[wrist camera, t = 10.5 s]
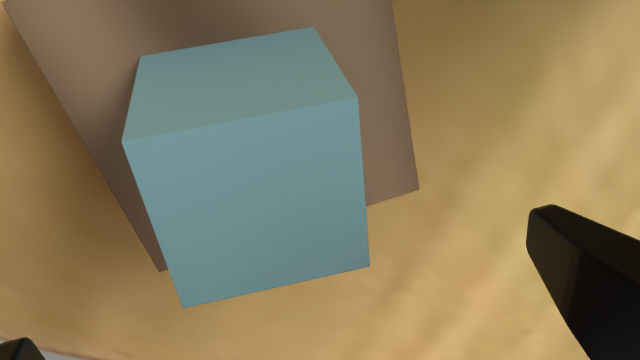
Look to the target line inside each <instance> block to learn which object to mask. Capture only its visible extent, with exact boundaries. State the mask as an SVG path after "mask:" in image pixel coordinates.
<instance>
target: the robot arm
mask: <svg viewBox="0 0 640 360" xmlns="http://www.w3.org/2000/svg"><path fill="white" fill-rule="evenodd" d="M526 247H527V251H528V254H529V256H530V258H531V260H532V261H533V263H534V265H535V267H536V269H537V271H538V273H539V275H540V276H541V278H542V280H543V282H544V284H545V286H546V288H547V289H548V291H549V293H550V295H551V297H552V299H553V301H554V303H555V304H556V306H557V308H558V310H559V312H560V314H561V315H562V317H563V319H564V321H565V322H566V324H567V326H568V327H569V329H570V330H571V332H572V333H573V335H574V336H575V338H576V339H577V341H578V342H579V344H580V345H581V347H582V348H583V350H584V351H585V352H586V354H587V355H588V357H589V358H590V360H640V240H637V239H635V238H633V237H630V236H628V235H626V234H623V233H621V232H618V231H616V230H614V229H611V228H609V227H607V226H604V225H602V224H600V223H597V222H595V221H593V220H590V219H588V218H585V217H583V216H581V215H578V214H576V213H574V212H571V211H569V210H567V209H564V208H562V207H559V206H557V205H553V204H551V205H546V206H542V207H538V208H534V209H532V210H531V211H530V213H529V218H528V228H527V237H526ZM0 360H45V358H44V357H43V356H42V354H41V353H40V351H39V350H38V348H37V347H36V346H35V344H34V343H33V342H32V340H31V339H29V338H27V337H25V338H24V337H23V338H19V339H15V340H11V341H7V342H4V343H2V344H0Z"/></svg>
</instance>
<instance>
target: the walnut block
mask: <svg viewBox="0 0 640 360" xmlns="http://www.w3.org/2000/svg"><path fill="white" fill-rule="evenodd" d="M2 5H3V7H4V8H5V10H6V12H7V13H8V15H9V17H10V18H11V20H12V22H13V24H14V25H15V27H16V29H17V30H18V32H19V34H20V36H21V37H22V39H23V41H24V42H25V44H26V46H27V47H28V49H29V51H30V53H31V54H32V56H33V58H34V59H35V61H36V63H37V64H38V66H39V68H40V70H41V71H42V73H43V75H44V76H45V78H46V80H47V82H48V83H49V85H50V87H51V88H52V90H53V92H54V93H55V95H56V97H57V99H58V100H59V102H60V104H61V105H62V107H63V109H64V111H65V112H66V114H67V116H68V117H69V119H70V121H71V122H72V124H73V126H74V128H75V129H76V131H77V133H78V134H79V136H80V138H81V139H82V141H83V143H84V145H85V146H86V148H87V150H88V151H89V153H90V155H91V157H92V158H93V160H94V162H95V163H96V165H97V167H98V168H99V170H100V172H101V174H102V175H103V177H104V179H105V180H106V182H107V184H108V186H109V187H110V189H111V191H112V192H113V194H114V196H115V197H116V199H117V201H118V203H119V204H120V206H121V208H122V209H123V211H124V213H125V214H126V216H127V218H128V220H129V221H130V223H131V225H132V226H133V228H134V230H135V232H136V233H137V235H138V237H139V238H140V240H141V242H142V243H143V245H144V247H145V249H146V250H147V252H148V254H149V255H150V257H151V259H152V261H153V262H154V264H155V266H156V267H157V269H158V271H159V272H161V271H165V270H168V267H167V264H166V261H165V259H164V256H163V253H162V250H161V248H160V245H159V242H158V240H157V237H156V234H155V232H154V229H153V226H152V223H151V221H150V218H149V215H148V213H147V210H146V207H145V205H144V202H143V199H142V196H141V194H140V191H139V188H138V186H137V183H136V180H135V178H134V175H133V172H132V169H131V167H130V164H129V161H128V159H127V156H126V153H125V151H124V148H123V145H122V137H123V132H124V128H125V123H126V119H127V114H128V110H129V105H130V101H131V96H132V92H133V87H134V83H135V78H136V74H137V69H138V65H139V60H140V56H145V55H151V54H157V53H163V52H168V51H174V50H180V49H186V48H192V47H197V46H203V45H209V44H215V43H221V42H227V41H232V40H238V39H244V38H250V37H256V36H261V35H267V34H273V33H279V32H285V31H290V30H296V29H302V28H308V27H314V28H315V30H316V31H317V33H318V34H319V36H320V38H321V39H322V41H323V42H324V44H325V46H326V47H327V49H328V50H329V52H330V54H331V55H332V57H333V58H334V60H335V62H336V63H337V65H338V66H339V68H340V70H341V71H342V73H343V74H344V76H345V78H346V79H347V81H348V82H349V84H350V86H351V87H352V89H353V90H354V92H355V94H356V95H357V97H358V105H359V119H360V133H361V148H362V162H363V176H364V190H365V204H366V206H369V205H372V204H375V203H378V202H381V201H385V200H388V199H391V198H394V197H397V196H400V195H403V194H407V193H410V192H413V191H416V190H419V184H418V177H417V171H416V164H415V157H414V151H413V144H412V137H411V131H410V124H409V118H408V111H407V104H406V98H405V91H404V84H403V78H402V71H401V64H400V58H399V51H398V44H397V38H396V31H395V24H394V18H393V11H392V4H391V0H5V1H4V2H3V3H2Z"/></svg>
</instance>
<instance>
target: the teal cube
mask: <svg viewBox="0 0 640 360" xmlns="http://www.w3.org/2000/svg"><path fill="white" fill-rule="evenodd" d="M122 145H123V148H124V151H125V153H126V156H127V159H128V161H129V164H130V167H131V169H132V172H133V175H134V178H135V180H136V183H137V186H138V188H139V191H140V194H141V196H142V199H143V202H144V205H145V207H146V210H147V213H148V215H149V218H150V221H151V223H152V226H153V229H154V232H155V234H156V237H157V240H158V242H159V245H160V248H161V250H162V253H163V256H164V259H165V261H166V264H167V267H168V269H169V272H170V275H171V277H172V280H173V283H174V286H175V288H176V291H177V294H178V296H179V299H180V302H181V304H182V307H183V308H187V307H191V306H196V305H200V304H205V303H209V302H213V301H218V300H222V299H227V298H231V297H236V296H240V295H245V294H249V293H254V292H258V291H263V290H267V289H271V288H276V287H280V286H285V285H289V284H294V283H298V282H303V281H307V280H312V279H316V278H320V277H325V276H329V275H334V274H338V273H343V272H347V271H352V270H356V269H361V268H365V267H370V261H369V247H368V233H367V219H366V204H365V190H364V176H363V162H362V148H361V133H360V119H359V105H358V97H357V95H356V94H355V92H354V90H353V89H352V87H351V86H350V84H349V82H348V81H347V79H346V78H345V76H344V74H343V73H342V71H341V70H340V68H339V66H338V65H337V63H336V62H335V60H334V58H333V57H332V55H331V54H330V52H329V50H328V49H327V47H326V46H325V44H324V42H323V41H322V39H321V38H320V36H319V34H318V33H317V31H316V30H315V28H314V27H308V28H302V29H296V30H290V31H285V32H279V33H273V34H267V35H261V36H256V37H250V38H244V39H238V40H232V41H227V42H221V43H215V44H209V45H203V46H197V47H192V48H186V49H180V50H174V51H168V52H163V53H157V54H151V55H145V56H140V60H139V65H138V69H137V74H136V78H135V83H134V87H133V92H132V96H131V101H130V105H129V110H128V114H127V119H126V123H125V128H124V132H123V137H122Z"/></svg>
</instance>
